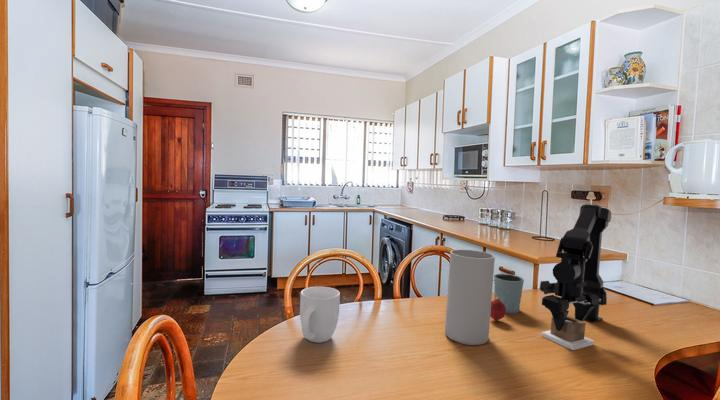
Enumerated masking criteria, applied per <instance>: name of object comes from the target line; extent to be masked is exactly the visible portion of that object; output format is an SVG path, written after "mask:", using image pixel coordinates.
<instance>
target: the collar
mask: <svg viewBox="0 0 720 400" xmlns="http://www.w3.org/2000/svg"><path fill="white" fill-rule="evenodd" d="M565 320H568V321H572V322H573V323H569V322H566V321H565V322H564V324H563V327H562V329H561V331H558V330H556V327H555V323H554V320H553V316H552V317H551V320H550V321H551V323H550V330H551V333H550V334H553V335H555V336H557V337H560V338H562V339H564V340H566V341H569V342H574V341H578V340H582V339H584V337H585V335H586V334H585V333H586V321H580V320H577V319H575V317H571V316H568V315H567V317H566V319H565Z"/></svg>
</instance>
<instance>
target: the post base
mask: <svg viewBox="0 0 720 400" xmlns="http://www.w3.org/2000/svg"><path fill="white" fill-rule="evenodd" d="M565 321H566V322H569V323H573V322H572V321H568V320H565ZM550 333H551V329H549V330H545V331H541V334H540V336H541V337H543V338H545V339H547V340H549V341H551V342H553V343H556V344H558V345H561V346H562V347H564V348H567V349H568V350H569V349H570V350H571V351H575V350H579V349H583V348H586V347H590V346H593V345H594V344H595V340H594V339H592V338H589V337H586V336H584V339H582V340H578V341H574V342H569V341H566V340H564V339H562V338H560V337H557V336H555V335H553V334H550Z"/></svg>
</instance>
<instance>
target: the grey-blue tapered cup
mask: <svg viewBox="0 0 720 400" xmlns="http://www.w3.org/2000/svg"><path fill="white" fill-rule="evenodd" d="M524 281H525V279H524V278H523V277H522V276H518V275H514V274H510V273H497V274H493V284H494V286H493V288H494V291H493V292H494V298H493V301H494V300H495V299H496V297H499V298H500V299H499V300H500V301H501V302H502V303H503V304H504V305H505V307H506V314H507V313H508V314H518V313H519V312H520V308H521V301H522V300H521V299H522V293H523V287H524Z"/></svg>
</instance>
